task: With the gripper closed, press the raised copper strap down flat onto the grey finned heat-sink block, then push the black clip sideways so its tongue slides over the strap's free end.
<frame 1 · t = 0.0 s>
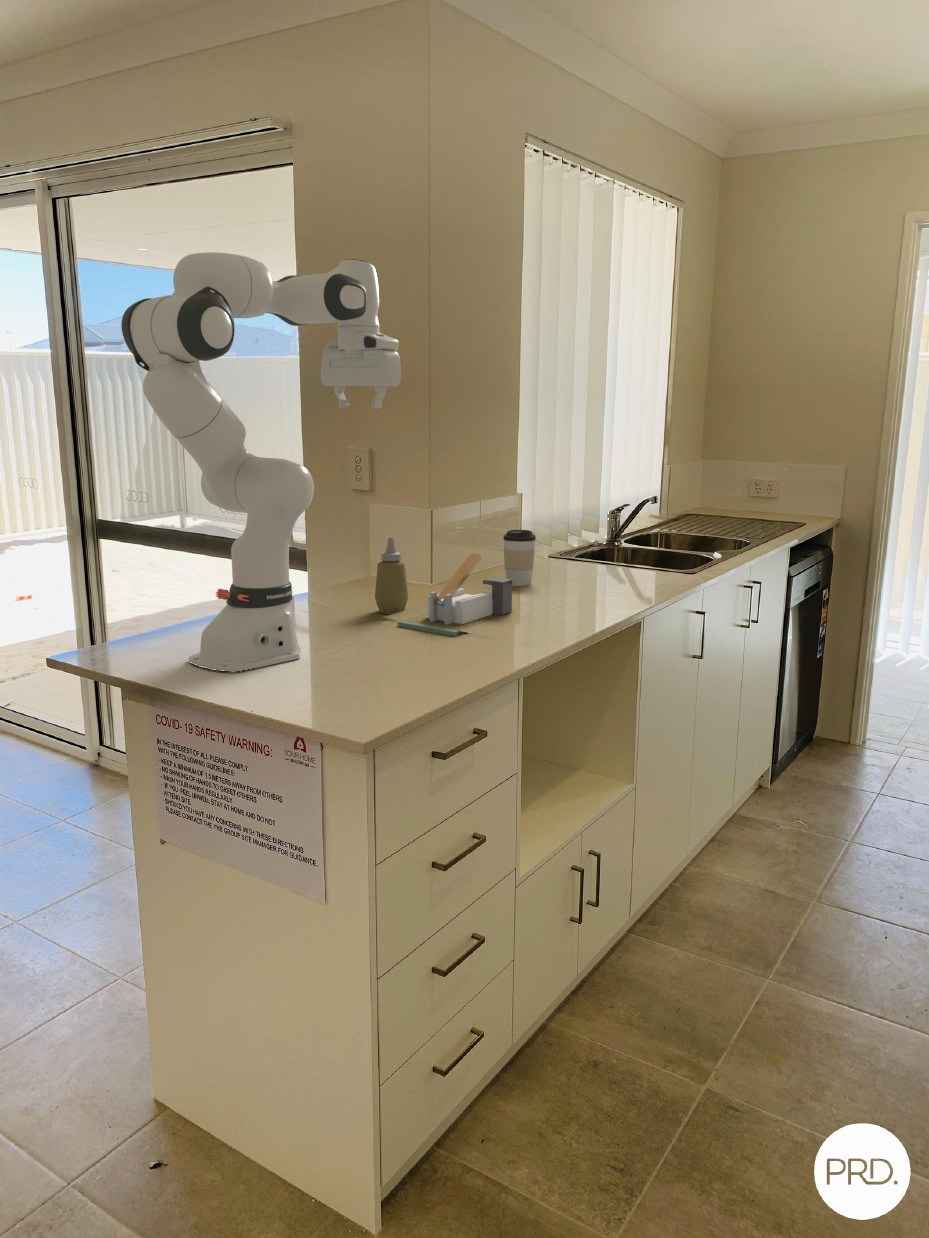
hand: (360, 408, 203), 48 cm above the countertop, tool pointing down, fingers open, 8 cm apart
squeeze bottle: (391, 613, 226), on the countertop
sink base: (457, 621, 217), on the countertop
coffee cup: (518, 584, 261), on the countertop
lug: (497, 595, 221), point 5 cm above the countertop, slide at 0.0 cm
strap: (458, 579, 215), point 10 cm above the countertop, hinge at 32.0°
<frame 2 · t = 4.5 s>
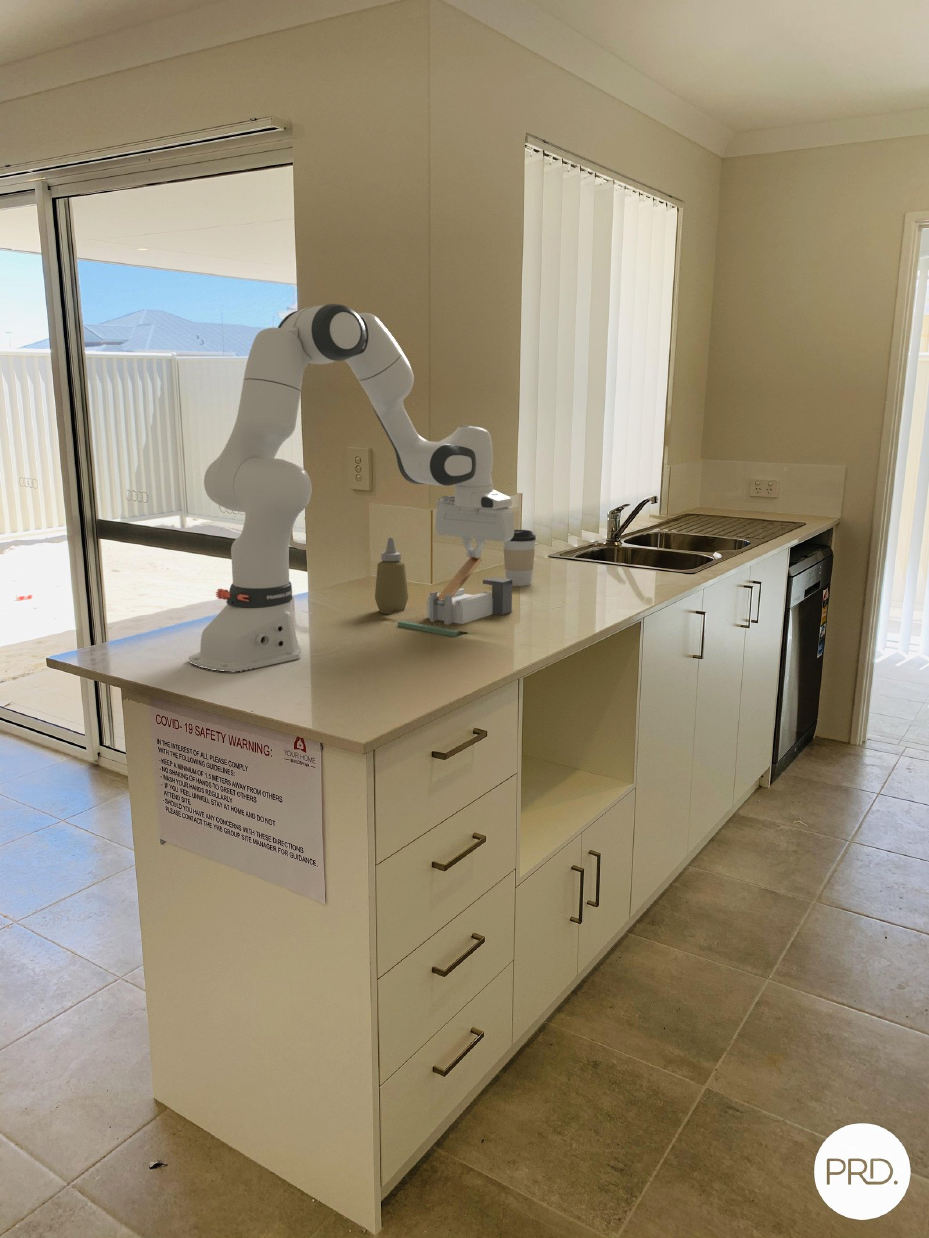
hand: (473, 557, 219), 14 cm above the countertop, tool pointing down, fingers closed, pressing on strap
strap: (458, 580, 215), point 9 cm above the countertop, hinge at 29.7°, touching gripper
everything else where it was.
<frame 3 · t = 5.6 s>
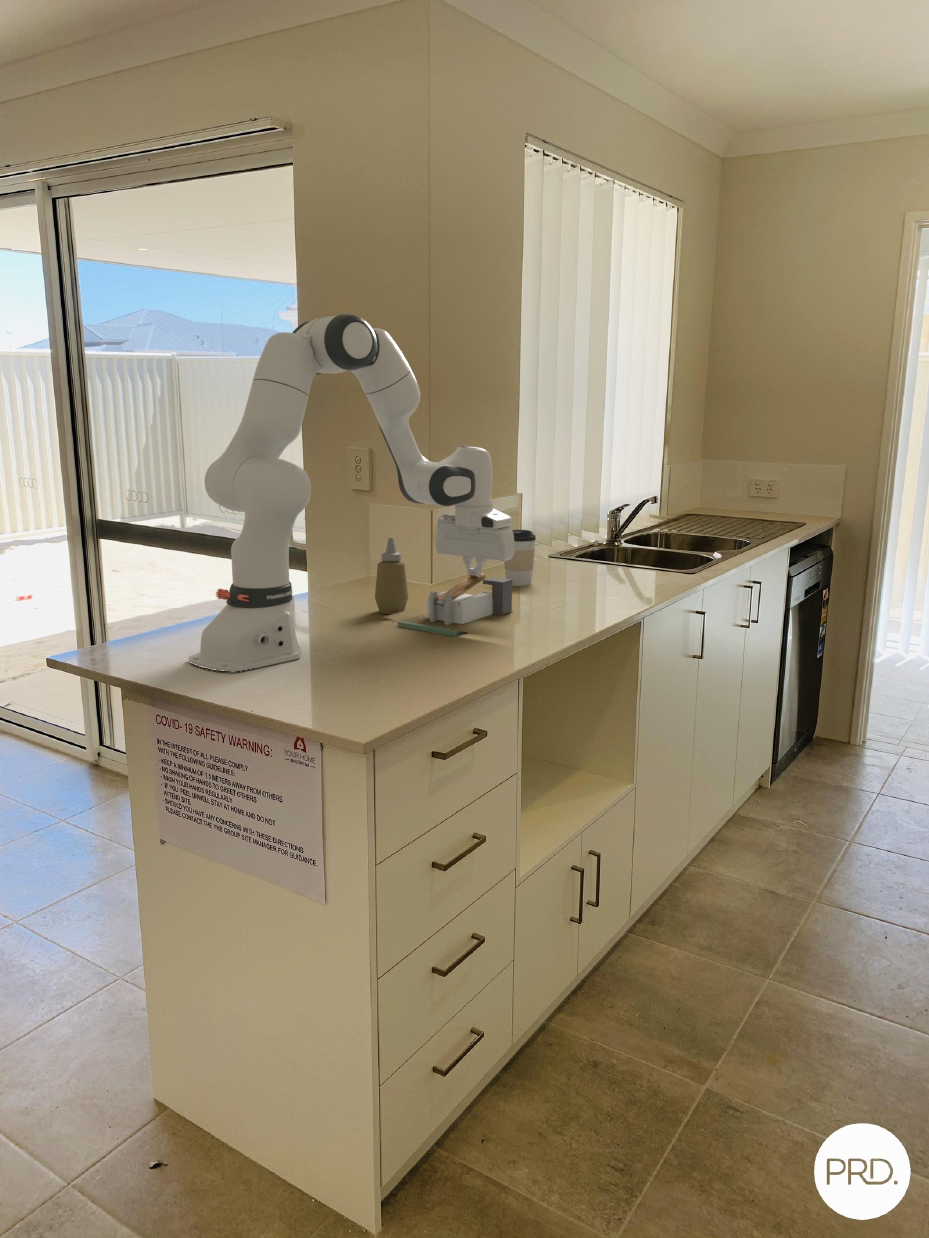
hand: (474, 575, 220), 10 cm above the countertop, tool pointing down, fingers closed, pressing on strap
strap: (460, 588, 216), point 7 cm above the countertop, hinge at 13.8°, touching gripper
everything else where it was.
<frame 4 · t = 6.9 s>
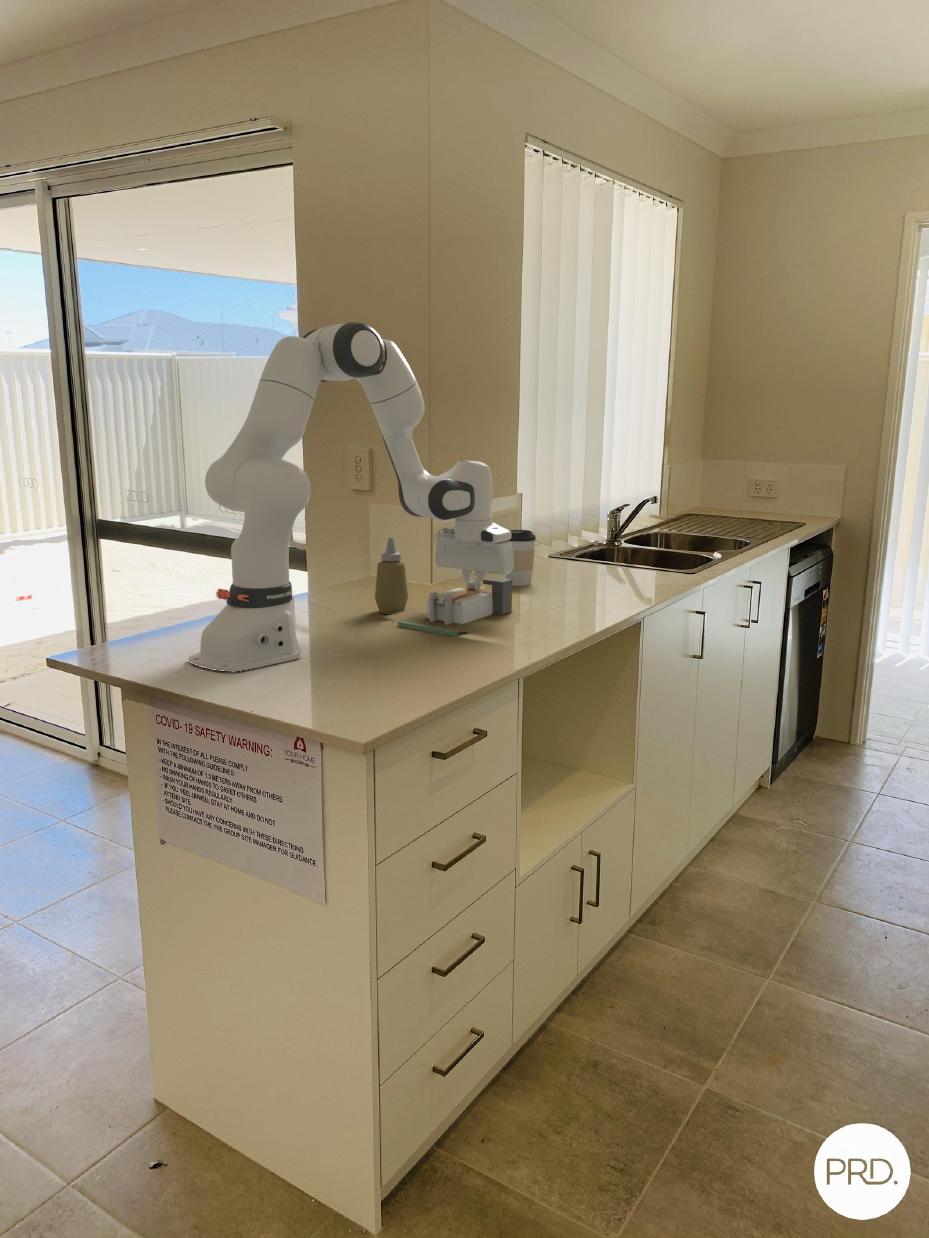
hand: (473, 589, 221), 6 cm above the countertop, tool pointing down, fingers closed, pressing on strap
strap: (460, 595, 217), point 6 cm above the countertop, hinge at 1.3°, touching gripper
everything else where it was.
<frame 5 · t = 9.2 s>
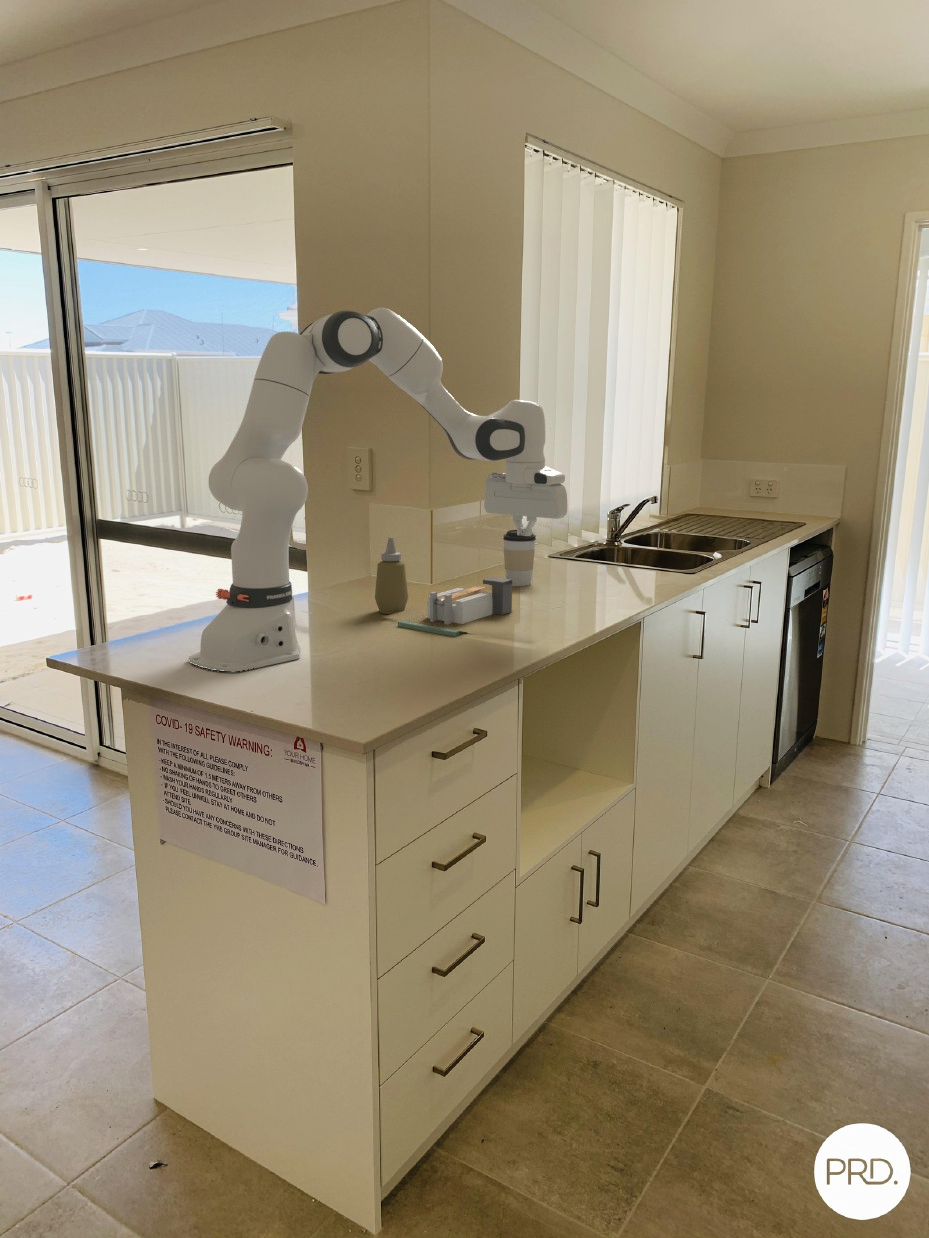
hand: (524, 535, 214), 20 cm above the countertop, tool pointing down, fingers closed
strap: (460, 595, 217), point 6 cm above the countertop, hinge at 1.2°
everything else where it was.
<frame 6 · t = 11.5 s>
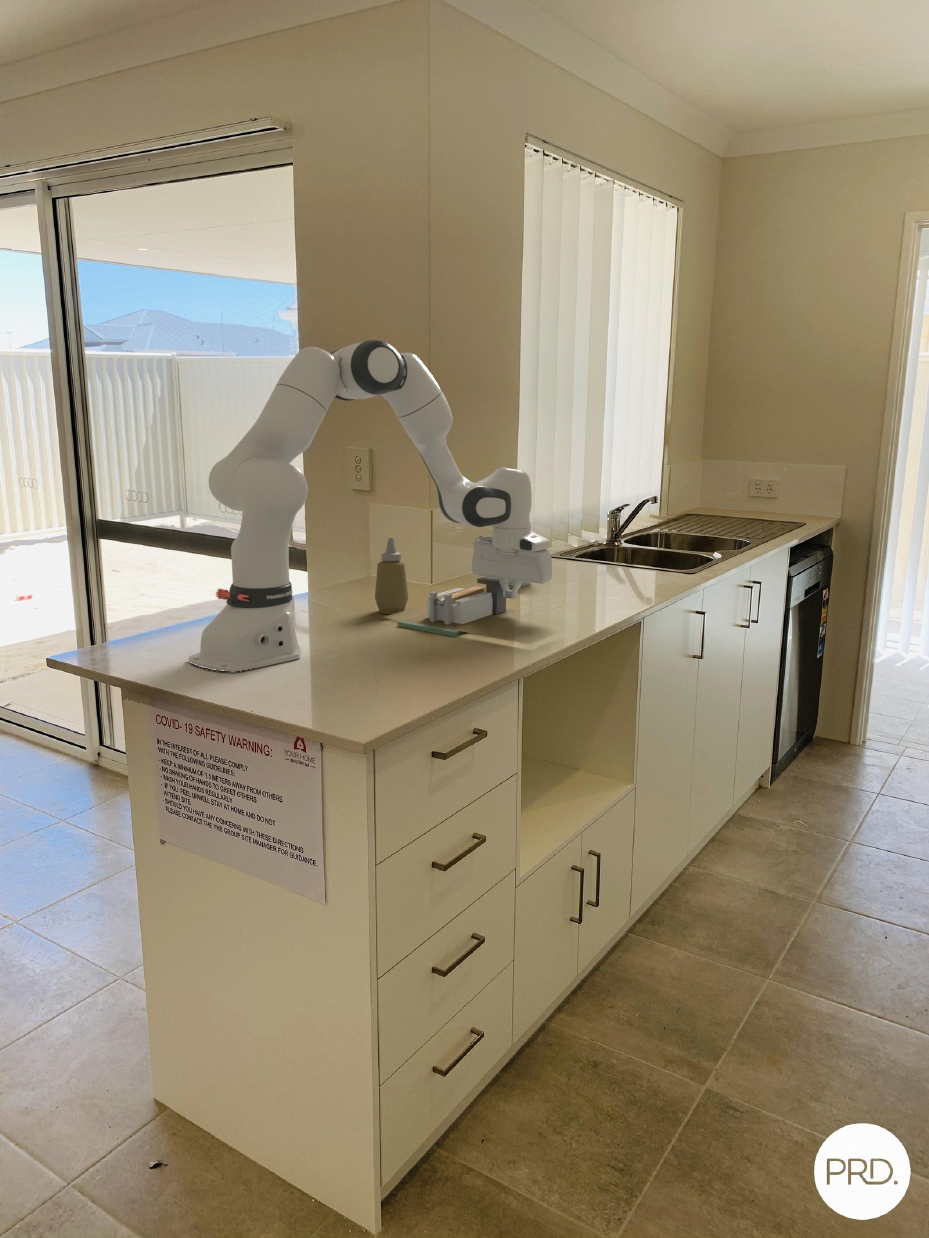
hand: (510, 598, 219), 5 cm above the countertop, tool pointing down, fingers closed
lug: (491, 594, 222), point 5 cm above the countertop, slide at 1.6 cm, touching gripper
everything else where it was.
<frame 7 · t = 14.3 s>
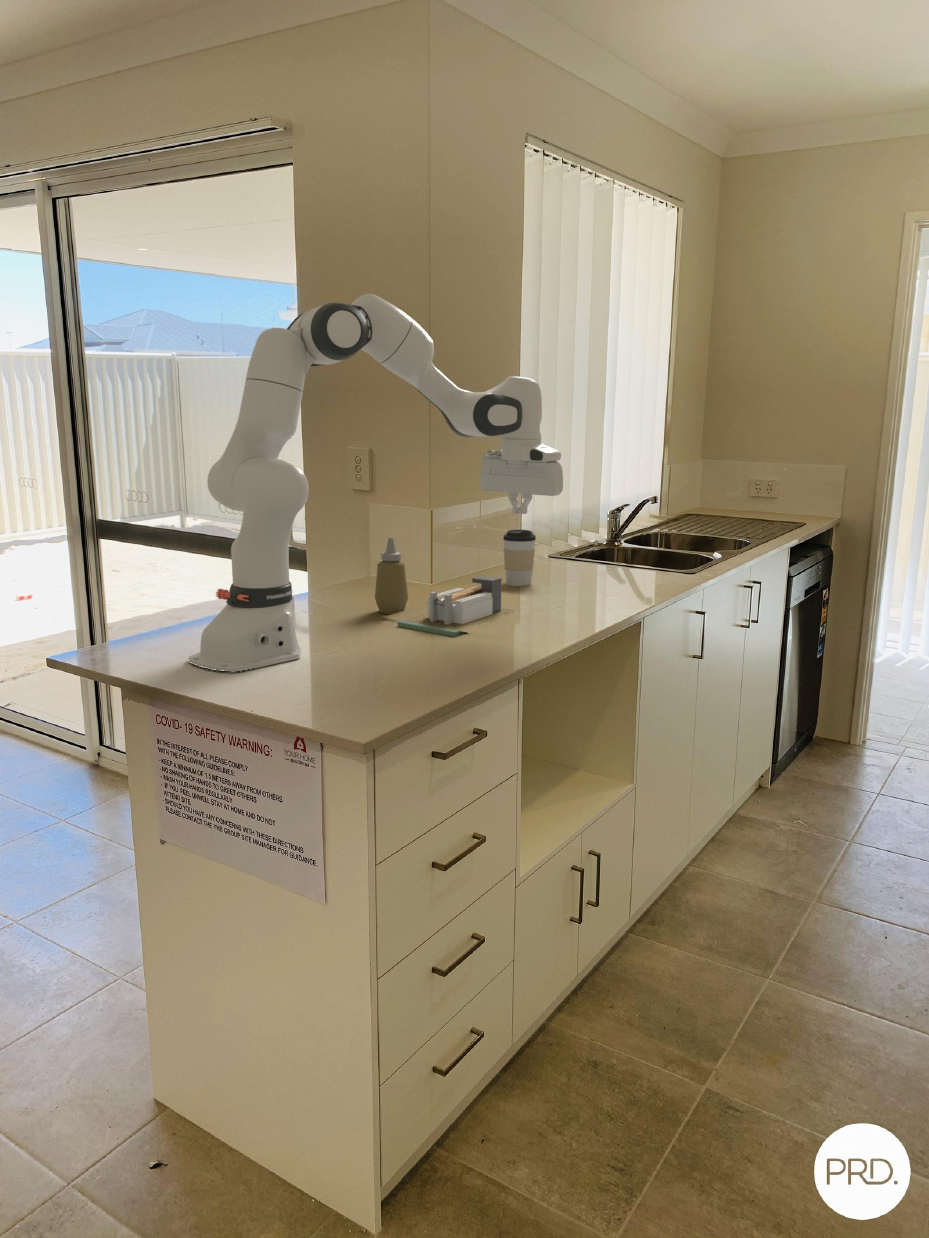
hand: (519, 513, 213), 25 cm above the countertop, tool pointing down, fingers closed
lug: (486, 594, 223), point 5 cm above the countertop, slide at 3.0 cm
everything else where it was.
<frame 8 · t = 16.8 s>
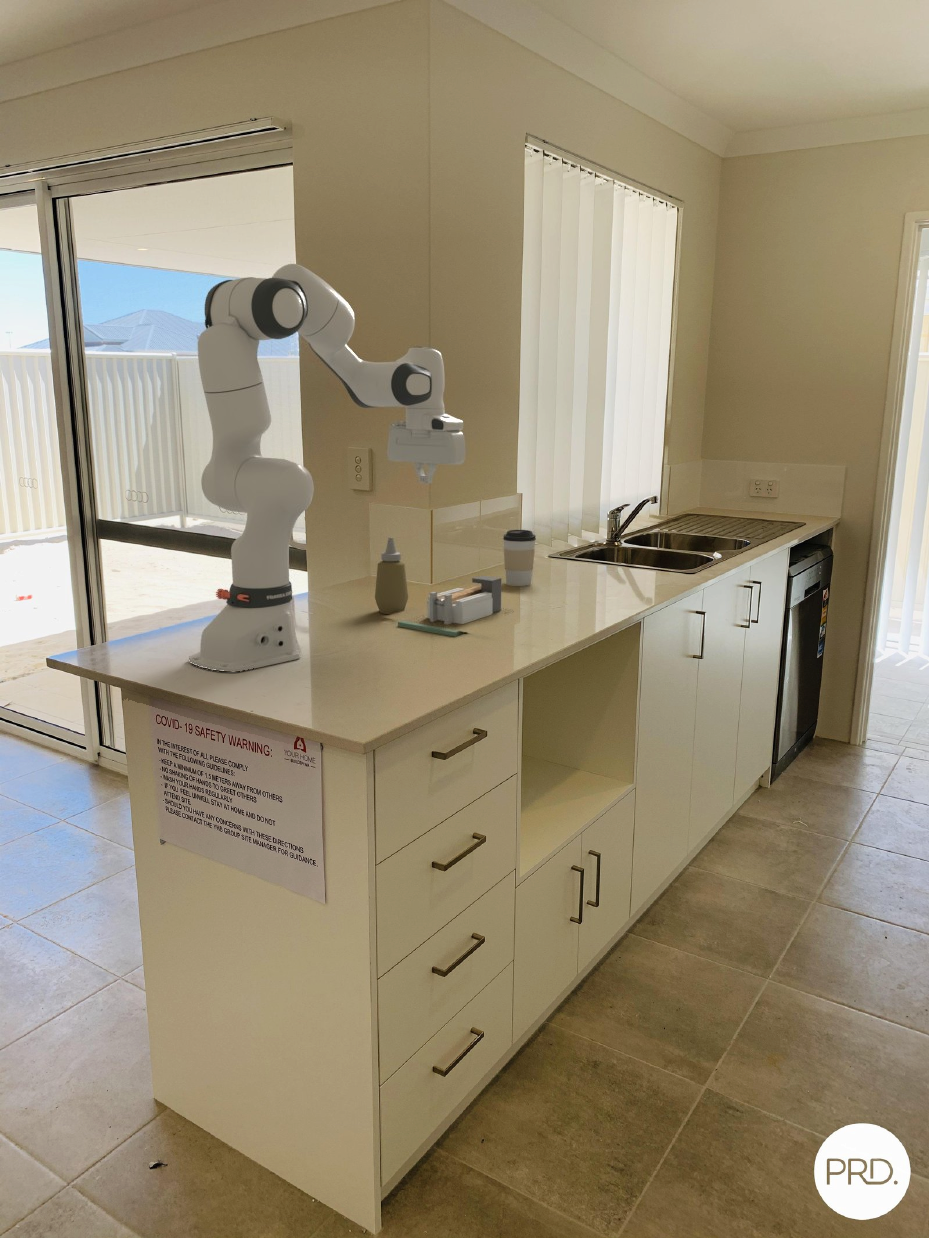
hand: (425, 483, 216), 31 cm above the countertop, tool pointing down, fingers closed
nothing on the countertop moved.
at the end: strap at +1° (first picture: +32°); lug slide at 3.0 cm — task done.
